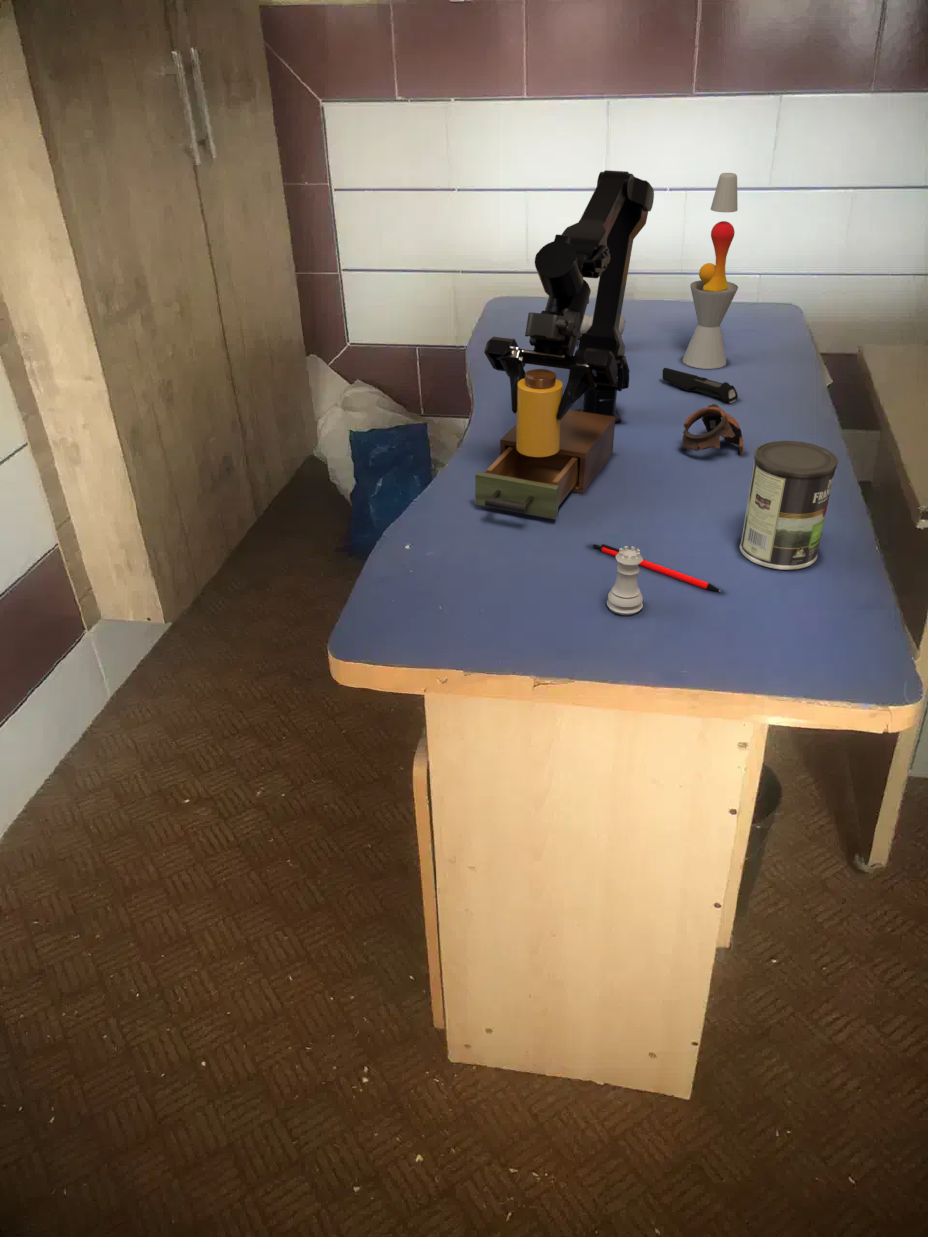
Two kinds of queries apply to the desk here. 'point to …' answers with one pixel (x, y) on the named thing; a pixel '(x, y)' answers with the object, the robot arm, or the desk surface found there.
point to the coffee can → (787, 504)
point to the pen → (661, 569)
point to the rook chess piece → (626, 583)
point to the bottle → (538, 413)
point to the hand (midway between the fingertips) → (535, 415)
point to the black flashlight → (700, 385)
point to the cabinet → (580, 443)
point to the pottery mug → (712, 430)
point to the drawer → (527, 483)
